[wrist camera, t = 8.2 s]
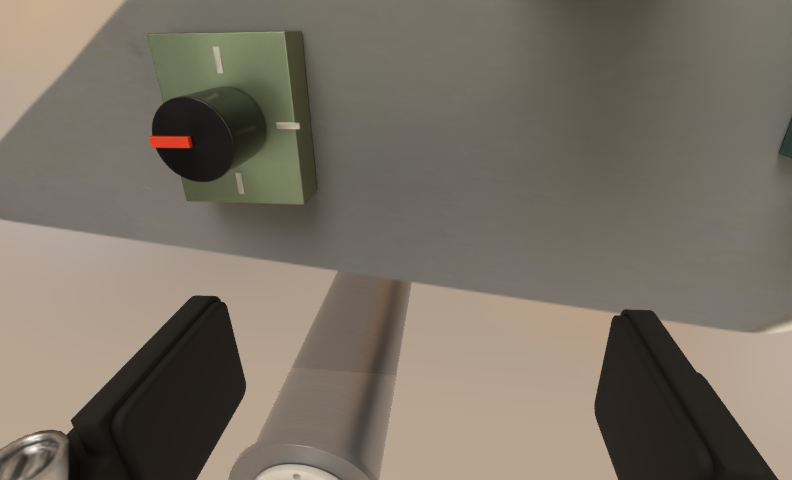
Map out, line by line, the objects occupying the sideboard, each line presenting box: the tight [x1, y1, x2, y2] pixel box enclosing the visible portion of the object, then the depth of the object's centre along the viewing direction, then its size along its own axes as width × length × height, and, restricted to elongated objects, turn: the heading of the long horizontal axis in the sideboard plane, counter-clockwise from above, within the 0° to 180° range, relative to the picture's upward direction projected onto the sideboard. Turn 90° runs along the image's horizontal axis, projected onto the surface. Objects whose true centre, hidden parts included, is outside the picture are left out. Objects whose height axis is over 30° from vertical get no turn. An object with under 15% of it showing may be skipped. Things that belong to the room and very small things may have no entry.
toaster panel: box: [148, 31, 317, 205], centre depth 27 cm, size 10×9×3 cm
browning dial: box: [149, 87, 266, 182], centre depth 24 cm, size 4×4×4 cm
